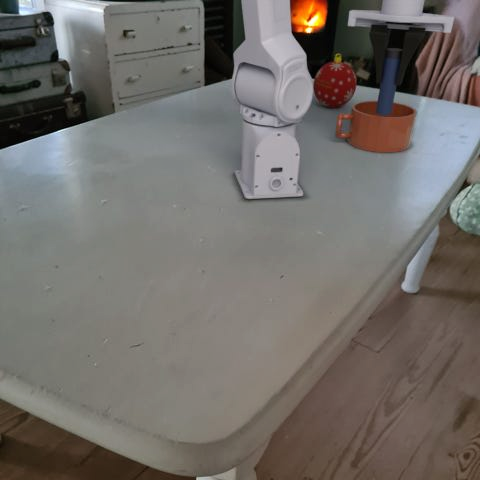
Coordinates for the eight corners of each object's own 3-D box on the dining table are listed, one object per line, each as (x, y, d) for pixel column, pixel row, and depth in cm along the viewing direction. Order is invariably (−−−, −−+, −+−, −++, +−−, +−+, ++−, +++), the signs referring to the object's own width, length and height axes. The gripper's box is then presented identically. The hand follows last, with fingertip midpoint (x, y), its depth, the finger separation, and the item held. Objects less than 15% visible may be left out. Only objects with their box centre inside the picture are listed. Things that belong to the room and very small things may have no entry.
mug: (394, 132, 94) (400, 100, 91) (419, 151, 86) (427, 117, 82) (325, 134, 92) (328, 101, 89) (344, 154, 84) (349, 119, 81)
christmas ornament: (303, 104, 109) (308, 51, 103) (336, 100, 112) (342, 48, 106) (327, 114, 103) (333, 59, 97) (361, 109, 106) (369, 55, 100)
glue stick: (394, 114, 81) (406, 50, 76) (378, 115, 81) (389, 51, 75) (387, 110, 83) (399, 47, 78) (373, 110, 83) (383, 48, 77)
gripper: (464, -23, 72) (439, 82, 80) (360, -27, 76) (347, 73, 84) (462, -20, 67) (436, 92, 75) (350, -25, 71) (338, 82, 79)
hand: (388, 82), depth 79 cm, fingers closed on glue stick, 2 cm apart
